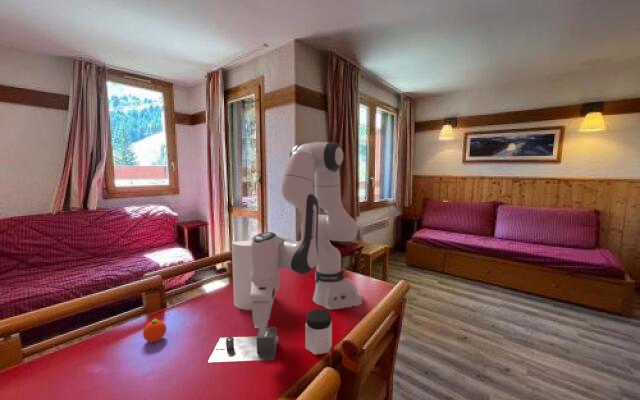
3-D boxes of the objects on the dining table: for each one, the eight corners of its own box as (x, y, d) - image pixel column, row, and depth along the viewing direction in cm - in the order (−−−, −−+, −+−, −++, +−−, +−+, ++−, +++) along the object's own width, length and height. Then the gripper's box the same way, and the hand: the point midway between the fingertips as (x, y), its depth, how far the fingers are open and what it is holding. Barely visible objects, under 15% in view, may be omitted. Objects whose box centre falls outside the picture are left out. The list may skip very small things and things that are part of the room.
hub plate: (278, 338, 96) (278, 327, 95) (274, 363, 84) (273, 350, 83) (220, 340, 95) (219, 328, 94) (208, 365, 83) (207, 352, 82)
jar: (307, 359, 85) (307, 323, 84) (303, 343, 93) (303, 310, 92) (335, 355, 87) (335, 320, 86) (328, 339, 95) (328, 307, 94)
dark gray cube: (259, 342, 92) (259, 326, 91) (276, 341, 92) (276, 326, 92) (257, 353, 86) (256, 336, 86) (274, 352, 87) (274, 336, 86)
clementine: (146, 335, 98) (144, 316, 97) (168, 330, 100) (167, 312, 100) (141, 348, 90) (140, 328, 90) (165, 343, 93) (164, 324, 92)
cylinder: (276, 305, 119) (275, 243, 116) (235, 313, 113) (233, 247, 109) (269, 289, 135) (267, 234, 132) (232, 295, 128) (230, 237, 125)
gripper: (260, 272, 97) (260, 309, 98) (248, 298, 76) (249, 345, 78) (278, 272, 97) (278, 309, 98) (271, 298, 77) (271, 344, 78)
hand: (265, 325), depth 88 cm, fingers open, 8 cm apart
